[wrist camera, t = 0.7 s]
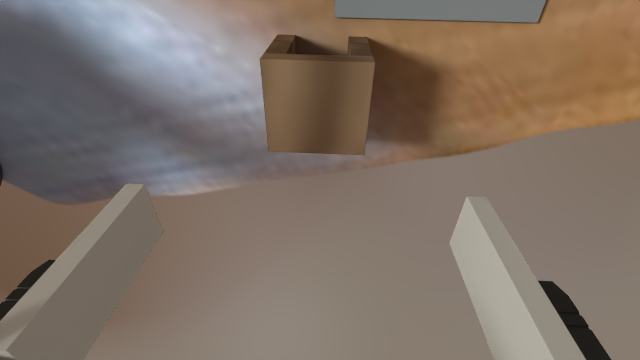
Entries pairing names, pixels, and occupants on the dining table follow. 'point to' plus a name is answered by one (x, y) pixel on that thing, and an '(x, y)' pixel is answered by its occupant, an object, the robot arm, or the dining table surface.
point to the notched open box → (317, 98)
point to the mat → (443, 9)
